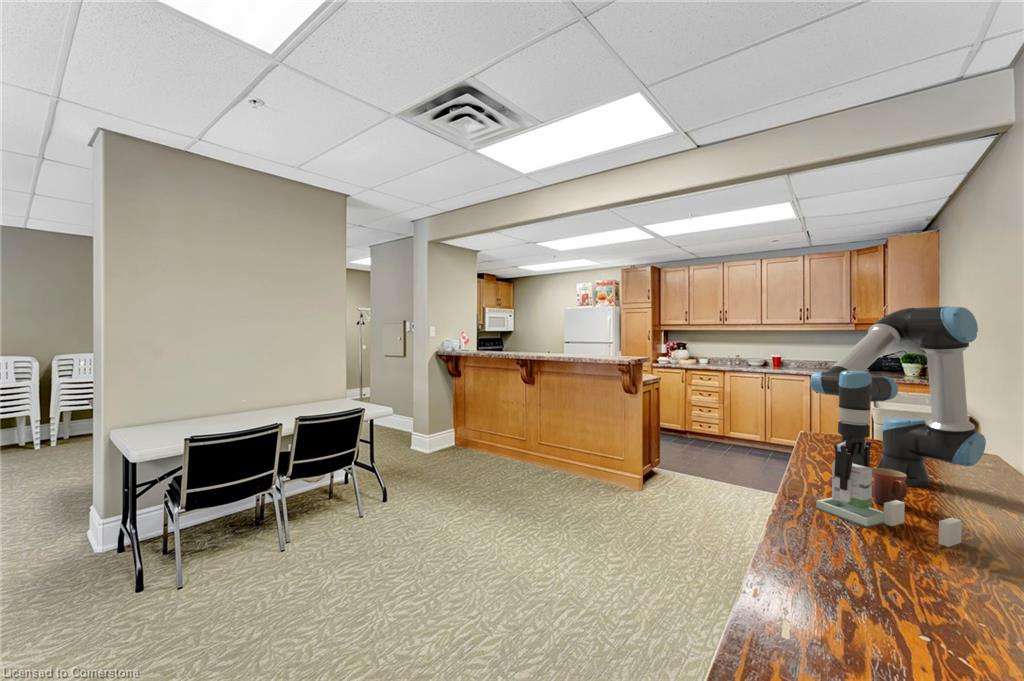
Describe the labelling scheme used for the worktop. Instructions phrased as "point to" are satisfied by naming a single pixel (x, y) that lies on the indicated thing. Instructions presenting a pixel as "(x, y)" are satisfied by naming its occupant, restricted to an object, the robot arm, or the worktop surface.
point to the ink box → (856, 486)
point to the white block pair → (947, 527)
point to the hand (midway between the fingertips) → (851, 498)
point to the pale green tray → (851, 512)
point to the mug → (888, 485)
